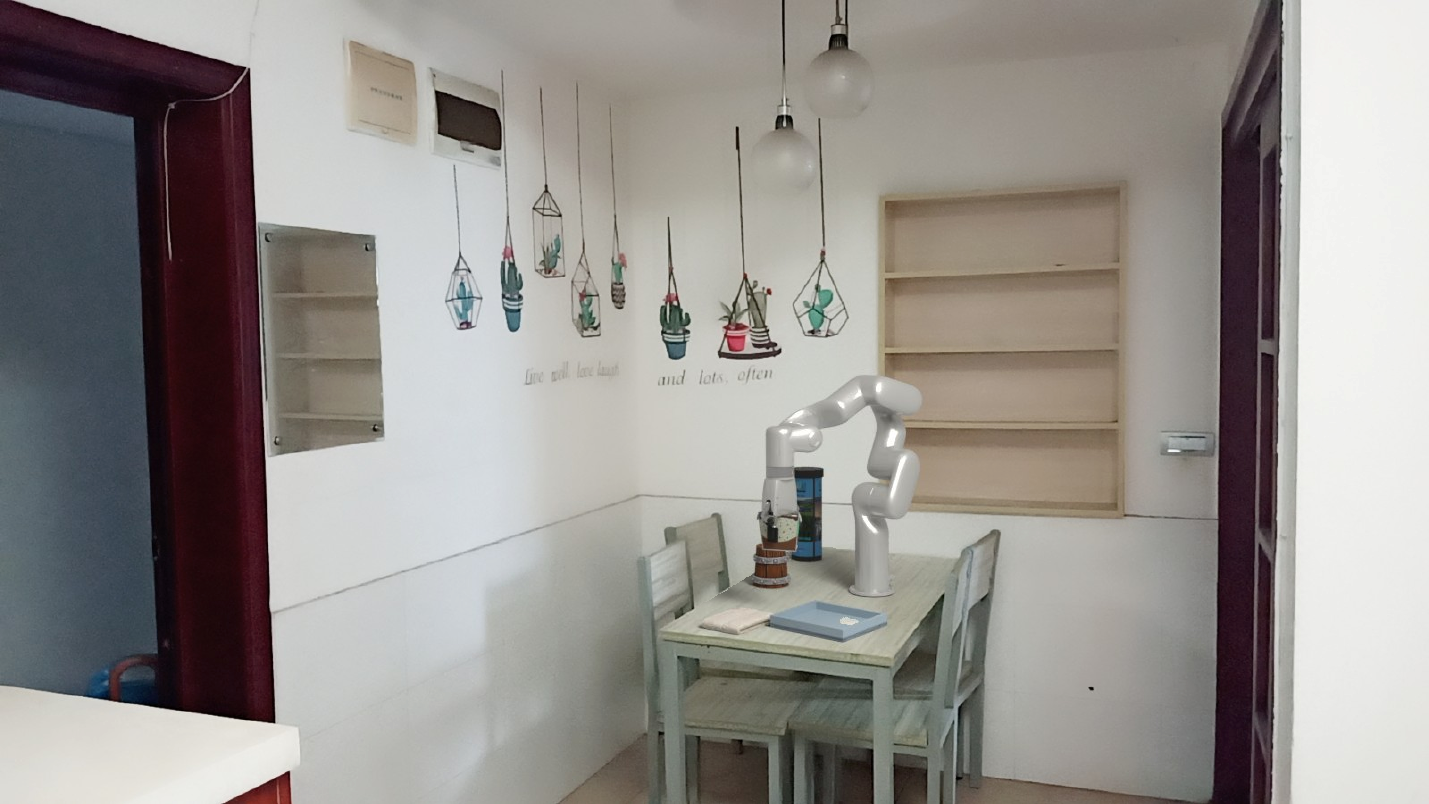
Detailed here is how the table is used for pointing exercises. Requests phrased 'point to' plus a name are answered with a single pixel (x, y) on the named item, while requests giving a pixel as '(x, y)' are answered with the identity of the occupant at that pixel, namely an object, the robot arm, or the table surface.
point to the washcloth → (737, 620)
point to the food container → (782, 532)
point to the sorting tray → (828, 620)
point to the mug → (770, 568)
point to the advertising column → (809, 513)
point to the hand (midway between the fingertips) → (780, 539)
